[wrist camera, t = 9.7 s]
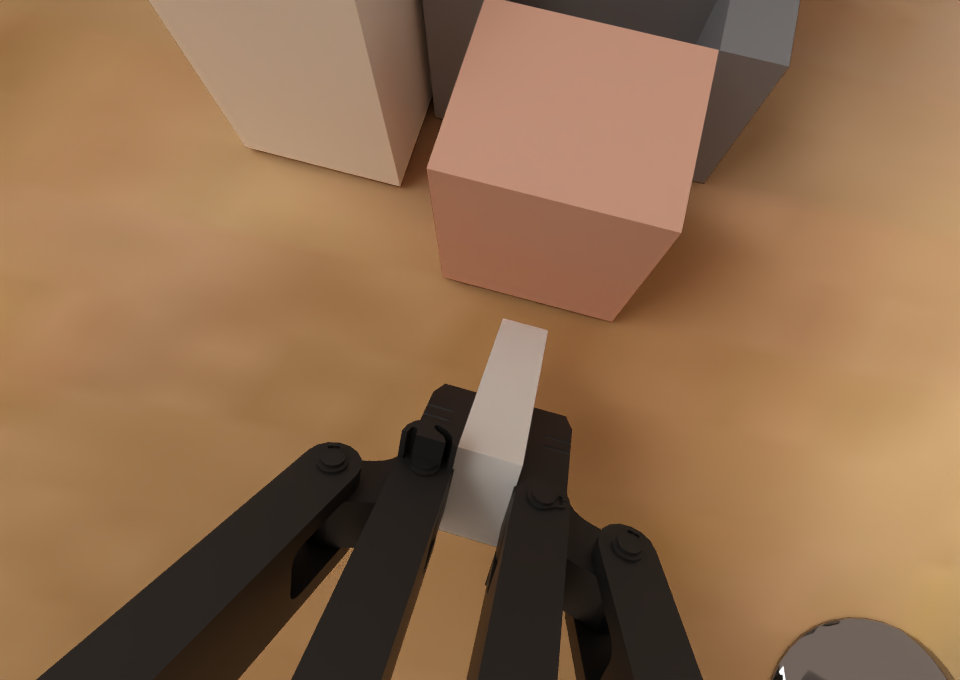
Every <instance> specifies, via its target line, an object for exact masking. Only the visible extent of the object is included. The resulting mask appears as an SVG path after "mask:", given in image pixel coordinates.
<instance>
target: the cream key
mask: <svg viewBox="0 0 960 680" xmlns="http://www.w3.org/2000/svg"><path fill="white" fill-rule="evenodd" d="M148 1H149V2H150V4H151V5H152V7H153V8H154V10H155V11H156V13H157V14H158V16H159V17H160V19H161V20H162V22H163V23H164V25H165V26H166V28H167V29H168V31H169V32H170V34H171V35H172V37H173V38H174V40H175V41H176V43H177V44H178V46H179V47H180V49H181V50H182V52H183V53H184V55H185V57H186V58H187V60H188V61H189V63H190V64H191V66H192V67H193V69H194V70H195V72H196V73H197V75H198V76H199V78H200V79H201V81H202V82H203V84H204V85H205V87H206V88H207V90H208V91H209V93H210V94H211V96H212V97H213V99H214V100H215V102H216V103H217V105H218V106H219V108H220V109H221V111H222V113H223V114H224V116H225V117H226V119H227V120H228V122H229V123H230V125H231V126H232V128H233V129H234V131H235V132H236V134H237V135H238V137H239V138H240V140H241V141H242V143H243V144H244V146H245V147H248V148H252V149H256V150H260V151H264V152H267V153H271V154H275V155H279V156H283V157H287V158H291V159H295V160H299V161H303V162H306V163H310V164H314V165H318V166H322V167H326V168H330V169H334V170H338V171H342V172H345V173H349V174H353V175H357V176H361V177H365V178H369V179H373V180H377V181H381V182H384V183H388V184H392V185H396V186H401V183H402V180H403V177H404V174H405V171H406V169H407V166H408V163H409V160H410V157H411V154H412V152H413V149H414V146H415V143H416V140H417V138H418V135H419V132H420V129H421V126H422V123H423V121H424V118H425V115H426V112H427V109H428V106H429V104H430V101H431V98H432V95H433V93H432V84H431V75H430V65H429V56H428V47H427V37H426V28H425V19H424V10H423V0H148Z"/></svg>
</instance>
